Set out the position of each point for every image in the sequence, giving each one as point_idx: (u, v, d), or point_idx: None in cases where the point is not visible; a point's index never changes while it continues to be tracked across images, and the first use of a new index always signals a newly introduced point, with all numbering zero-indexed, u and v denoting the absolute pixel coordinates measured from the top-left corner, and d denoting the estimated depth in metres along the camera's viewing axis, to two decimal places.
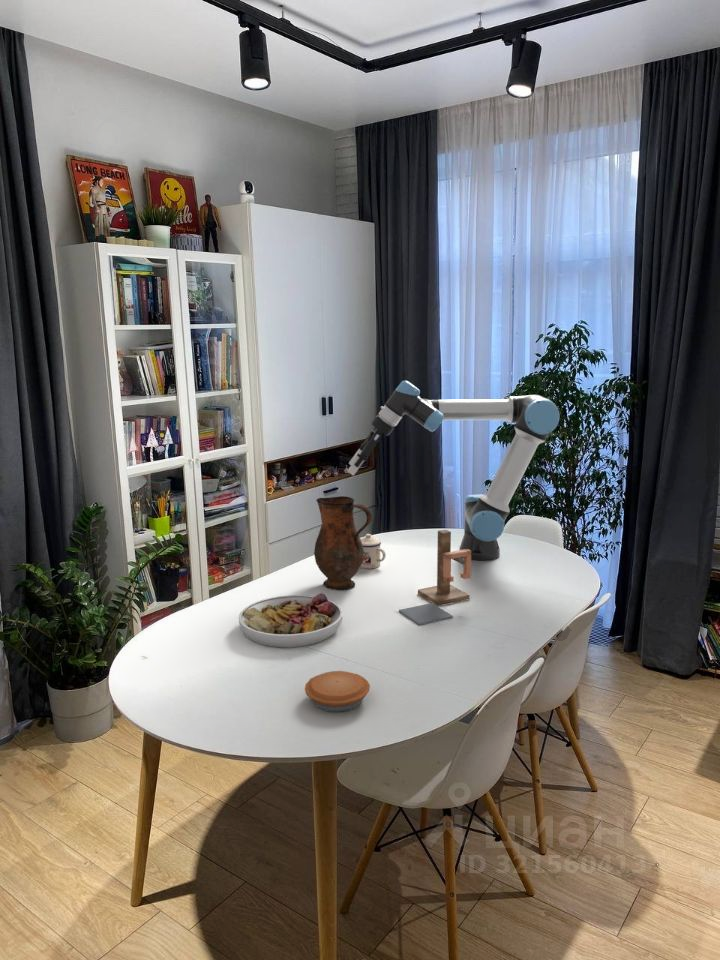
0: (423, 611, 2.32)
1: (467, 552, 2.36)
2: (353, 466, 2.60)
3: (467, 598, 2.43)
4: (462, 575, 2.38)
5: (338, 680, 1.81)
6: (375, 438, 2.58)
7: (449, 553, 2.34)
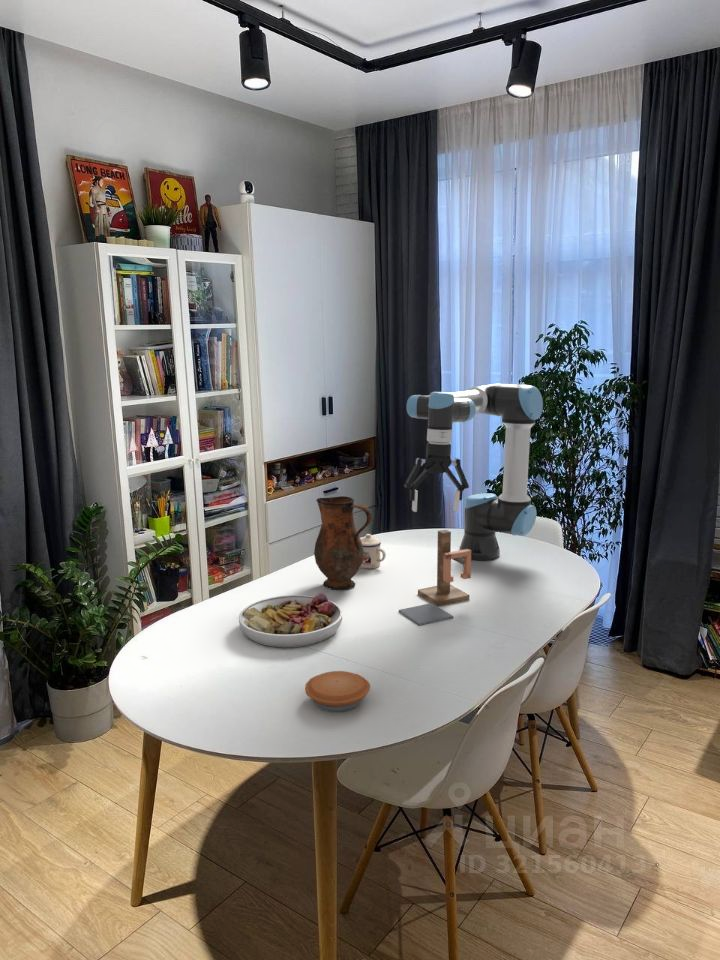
0: (423, 611, 2.32)
1: (467, 552, 2.36)
2: None
3: (467, 598, 2.43)
4: (462, 575, 2.38)
5: (338, 680, 1.81)
6: None
7: (449, 553, 2.34)
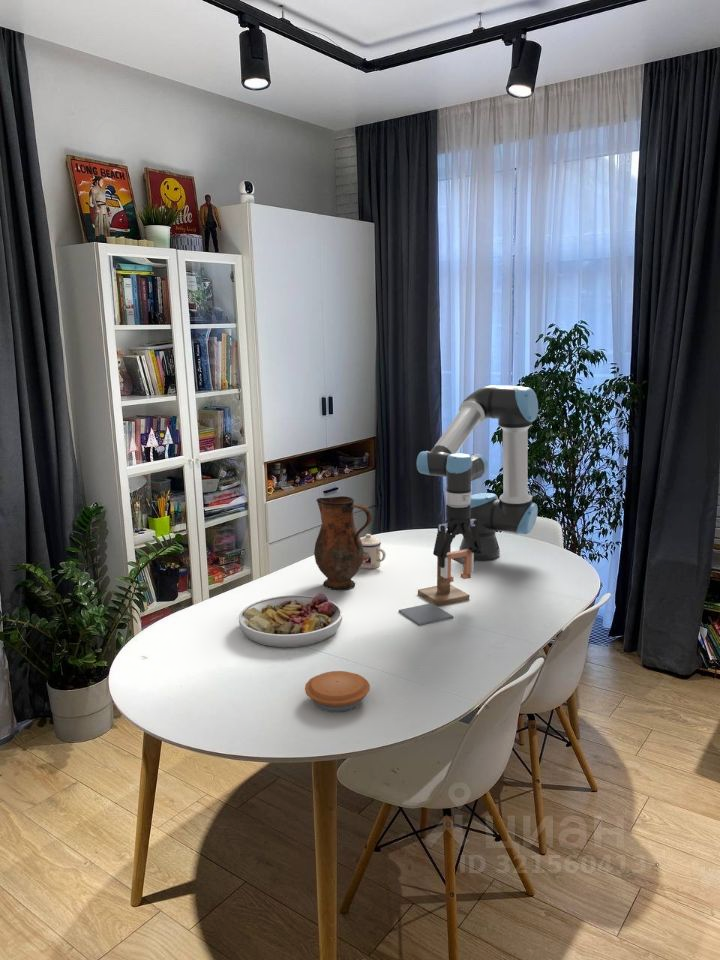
0: (423, 611, 2.32)
1: (467, 552, 2.36)
2: None
3: (467, 598, 2.43)
4: (462, 575, 2.38)
5: (338, 680, 1.81)
6: None
7: (449, 553, 2.34)
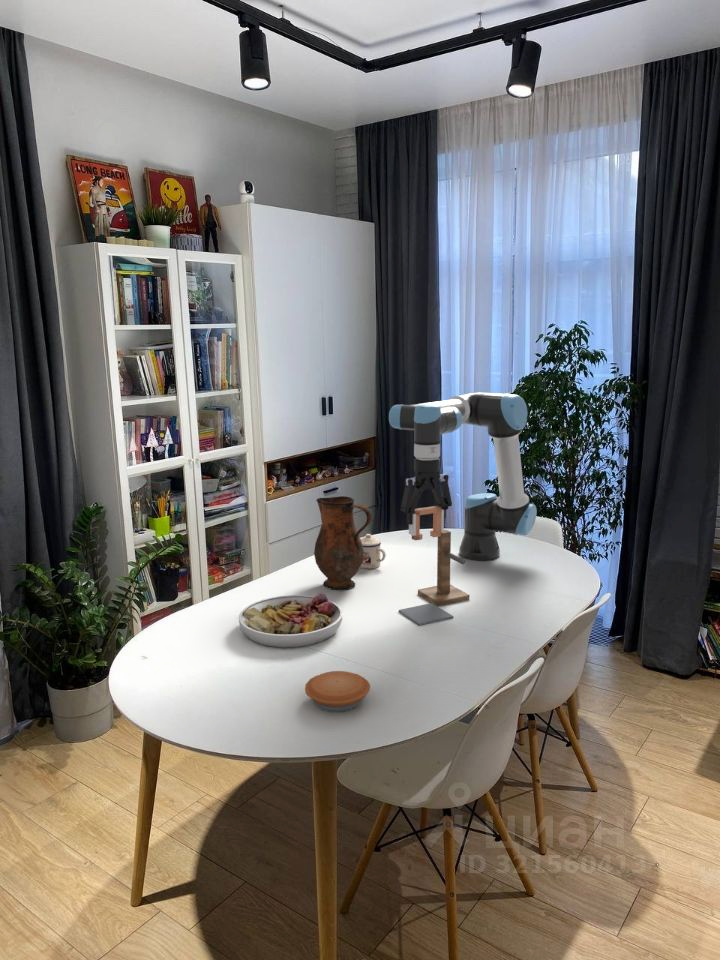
0: (423, 611, 2.32)
1: (437, 508, 2.24)
2: None
3: (467, 598, 2.43)
4: (432, 533, 2.26)
5: (338, 680, 1.81)
6: None
7: (418, 509, 2.22)
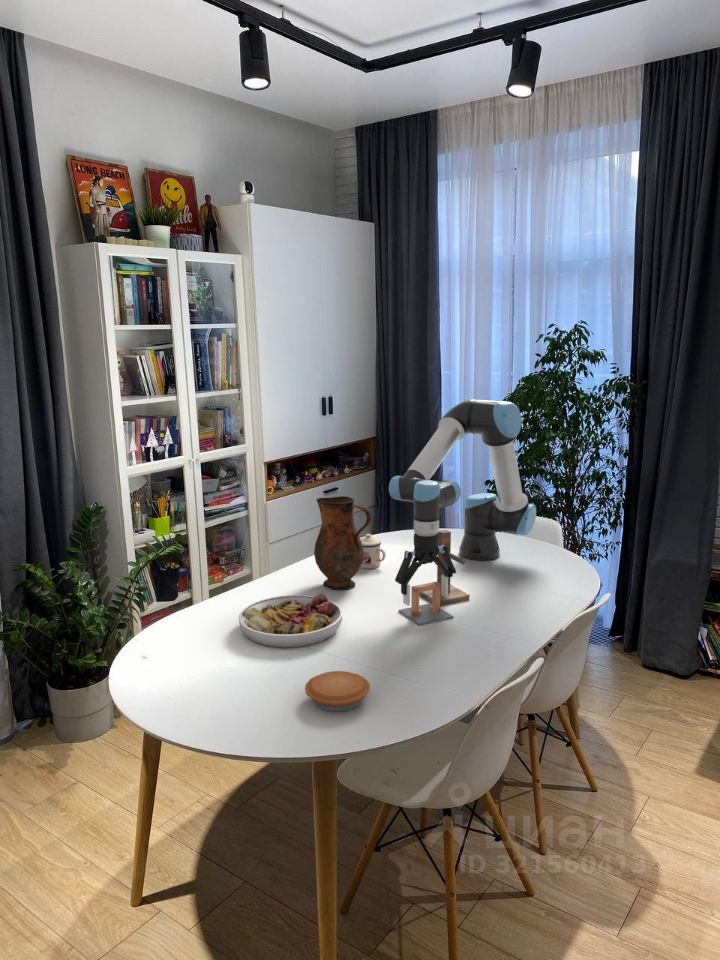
0: (423, 611, 2.32)
1: (436, 585, 2.30)
2: None
3: (467, 598, 2.43)
4: (431, 608, 2.32)
5: (338, 680, 1.81)
6: None
7: (417, 586, 2.28)
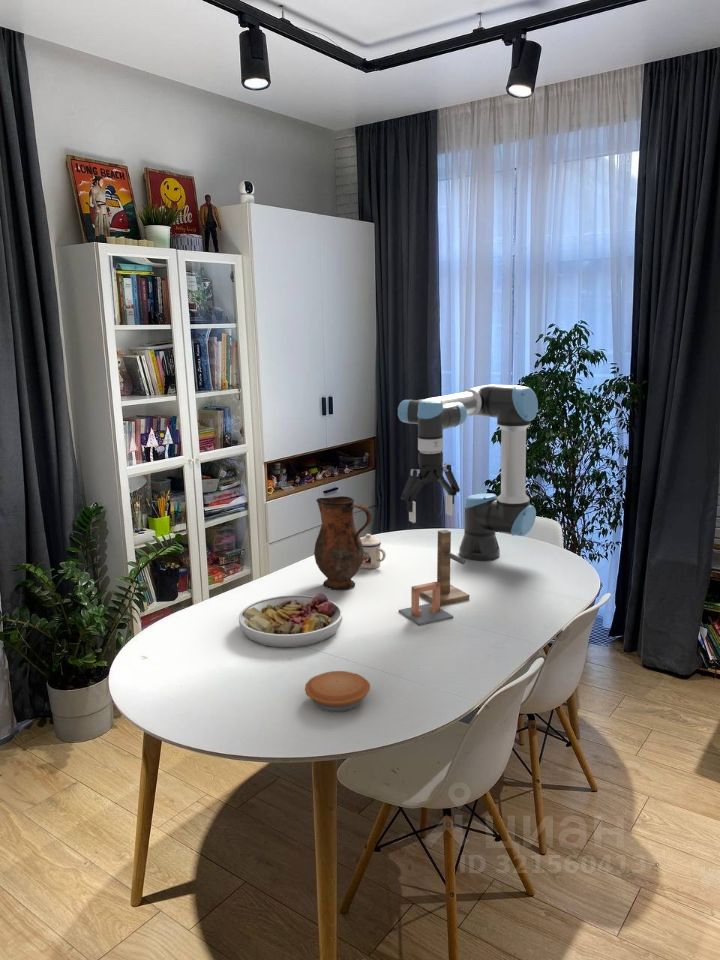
0: (423, 611, 2.32)
1: (436, 585, 2.30)
2: None
3: (467, 598, 2.43)
4: (431, 608, 2.32)
5: (338, 680, 1.81)
6: None
7: (417, 586, 2.28)
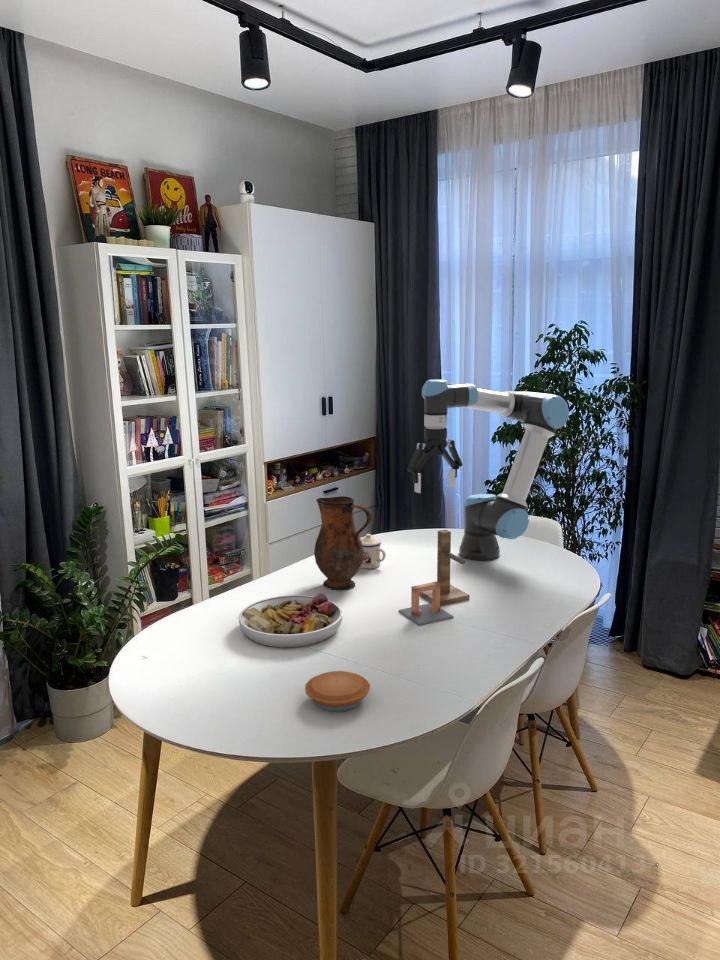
0: (423, 611, 2.32)
1: (436, 585, 2.30)
2: None
3: (467, 598, 2.43)
4: (431, 608, 2.32)
5: (338, 680, 1.81)
6: None
7: (417, 586, 2.28)
